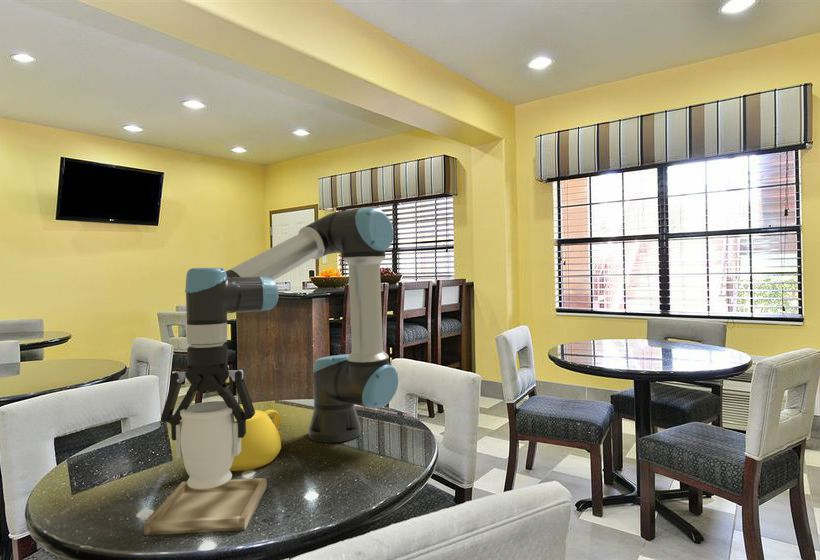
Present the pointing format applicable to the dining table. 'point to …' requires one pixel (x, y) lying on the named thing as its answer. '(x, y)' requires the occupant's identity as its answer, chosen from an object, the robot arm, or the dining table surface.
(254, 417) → the teapot
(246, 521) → the tray
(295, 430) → the dining table surface
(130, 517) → the dining table surface
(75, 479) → the dining table surface
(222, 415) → the jar
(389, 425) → the dining table surface
